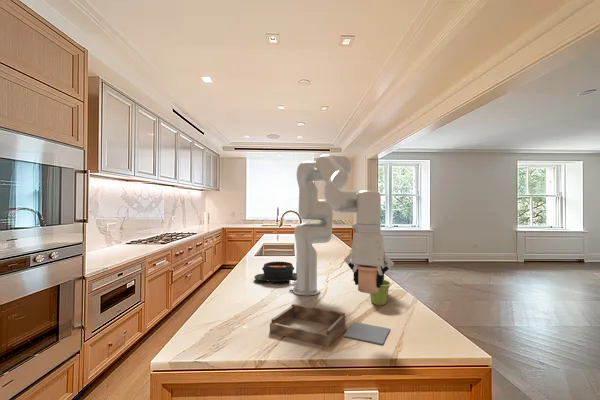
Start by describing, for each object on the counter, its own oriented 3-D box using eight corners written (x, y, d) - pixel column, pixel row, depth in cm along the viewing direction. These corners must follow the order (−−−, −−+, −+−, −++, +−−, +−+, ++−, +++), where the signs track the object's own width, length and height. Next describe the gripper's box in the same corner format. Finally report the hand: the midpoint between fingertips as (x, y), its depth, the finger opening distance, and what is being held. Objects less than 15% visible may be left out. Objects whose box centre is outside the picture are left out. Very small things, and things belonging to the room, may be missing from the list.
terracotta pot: (354, 291, 98) (354, 266, 98) (360, 286, 104) (360, 262, 104) (376, 294, 95) (376, 268, 95) (381, 288, 101) (381, 264, 101)
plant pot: (391, 307, 124) (391, 285, 124) (367, 306, 125) (367, 284, 125) (389, 300, 133) (389, 279, 133) (367, 298, 135) (367, 278, 135)
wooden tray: (269, 332, 100) (269, 318, 100) (292, 315, 114) (292, 303, 114) (328, 346, 91) (328, 330, 91) (345, 326, 105) (345, 312, 105)
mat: (343, 336, 97) (343, 335, 97) (354, 323, 108) (354, 321, 108) (382, 345, 92) (382, 343, 92) (390, 329, 103) (390, 328, 103)
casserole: (298, 275, 176) (298, 260, 175) (304, 284, 157) (305, 267, 157) (253, 276, 171) (253, 261, 171) (254, 286, 153) (254, 268, 153)
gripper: (338, 229, 100) (338, 284, 100) (394, 231, 93) (394, 292, 93) (346, 227, 107) (345, 279, 107) (398, 229, 99) (398, 286, 99)
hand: (368, 284), depth 100 cm, fingers closed on terracotta pot, 6 cm apart
